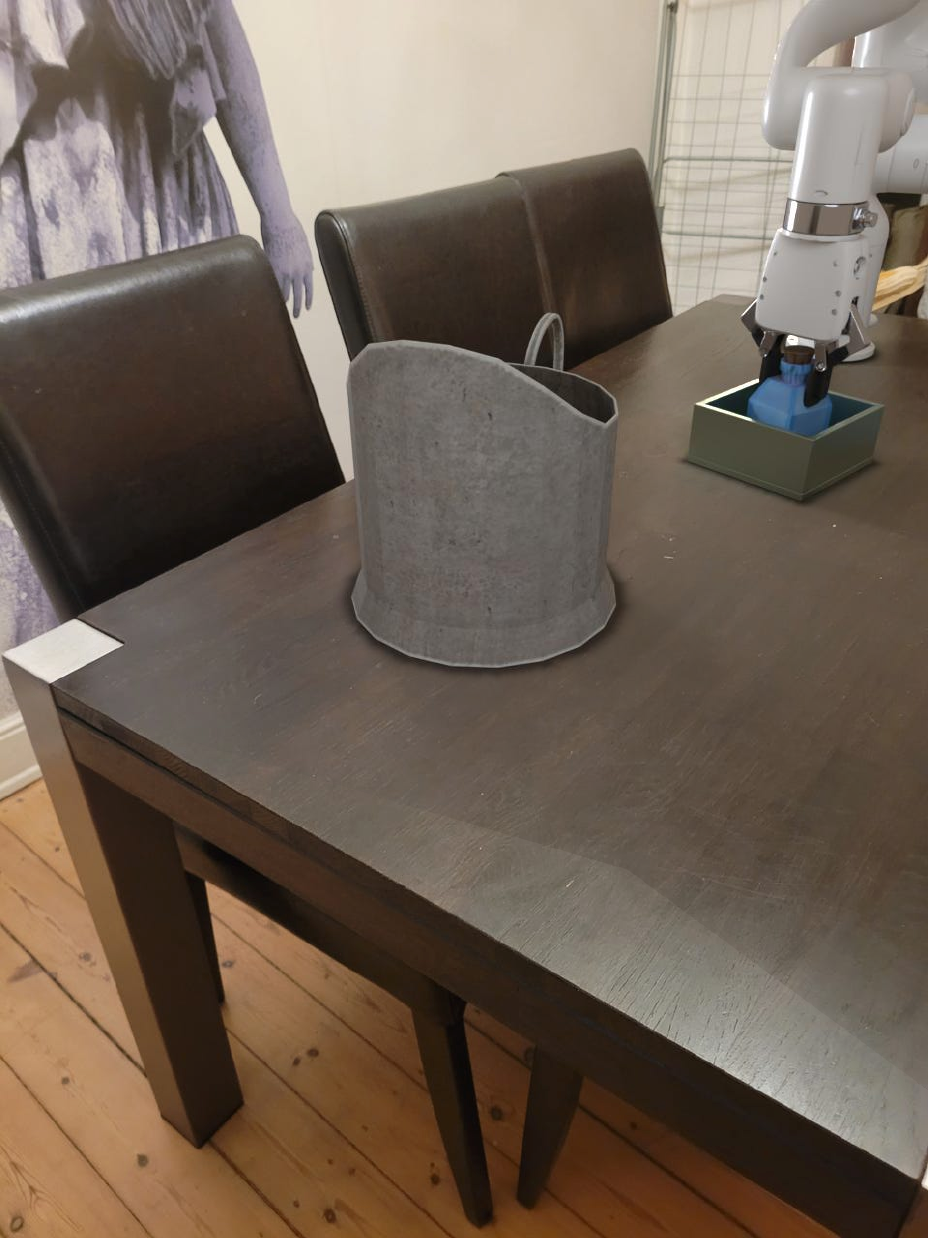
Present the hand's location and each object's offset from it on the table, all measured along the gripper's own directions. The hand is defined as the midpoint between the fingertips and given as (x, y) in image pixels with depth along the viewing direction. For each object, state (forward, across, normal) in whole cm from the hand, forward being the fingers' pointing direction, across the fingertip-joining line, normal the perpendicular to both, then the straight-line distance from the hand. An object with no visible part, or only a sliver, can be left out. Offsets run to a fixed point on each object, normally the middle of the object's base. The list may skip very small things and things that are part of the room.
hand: (790, 395), depth 101 cm
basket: (+8, 0, 0) cm, 8 cm away
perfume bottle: (+7, 0, 0) cm, 7 cm away
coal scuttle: (+8, +4, +40) cm, 41 cm away
